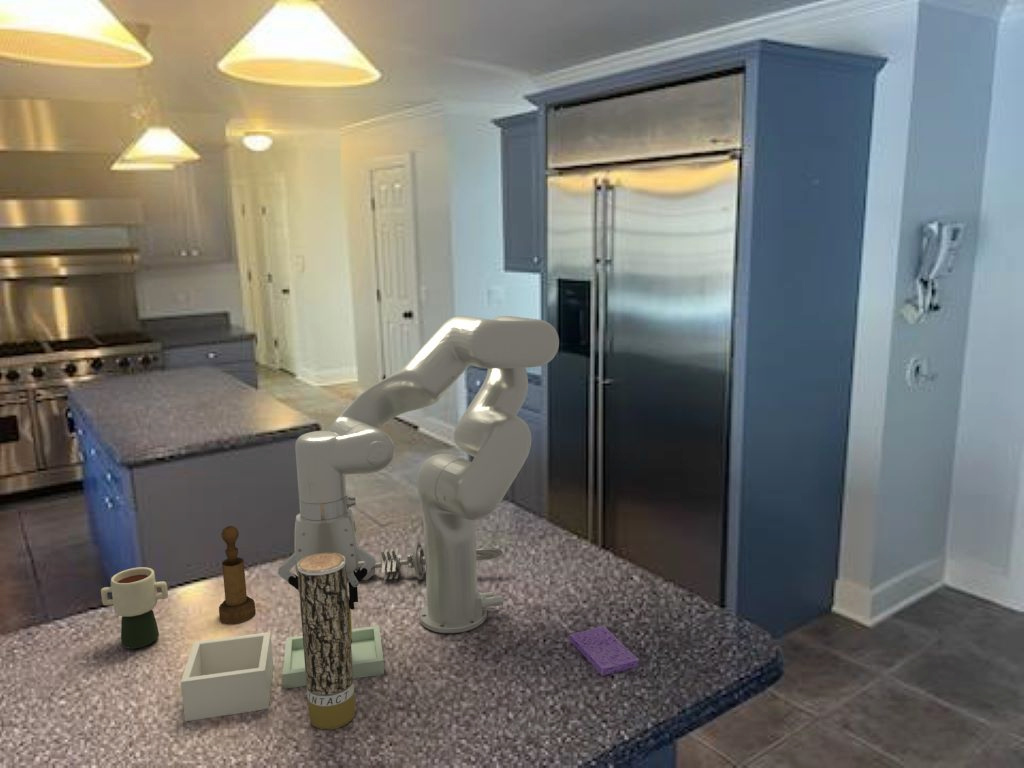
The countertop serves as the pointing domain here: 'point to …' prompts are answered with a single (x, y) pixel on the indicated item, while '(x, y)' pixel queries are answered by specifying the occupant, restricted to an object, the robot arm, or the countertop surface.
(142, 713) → the countertop surface
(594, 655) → the sponges
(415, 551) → the spaceship
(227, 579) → the mortar and pestle
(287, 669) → the tray
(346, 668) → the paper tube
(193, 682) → the cream square frame
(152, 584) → the character mug
